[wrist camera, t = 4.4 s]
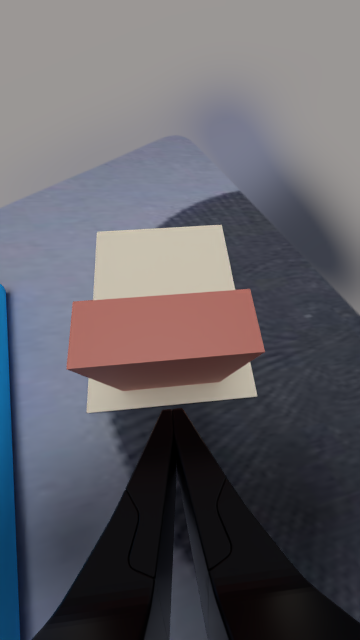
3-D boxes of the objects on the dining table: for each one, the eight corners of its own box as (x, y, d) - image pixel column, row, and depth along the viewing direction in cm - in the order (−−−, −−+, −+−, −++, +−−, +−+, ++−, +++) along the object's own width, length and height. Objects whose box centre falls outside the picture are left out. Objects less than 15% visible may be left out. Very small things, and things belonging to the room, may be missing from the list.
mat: (255, 396, 17) (257, 396, 16) (89, 412, 16) (86, 412, 16) (220, 228, 23) (221, 224, 22) (98, 235, 22) (97, 232, 22)
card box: (219, 382, 16) (264, 351, 8) (122, 391, 16) (66, 369, 8) (214, 347, 17) (250, 289, 9) (122, 355, 17) (72, 301, 9)
